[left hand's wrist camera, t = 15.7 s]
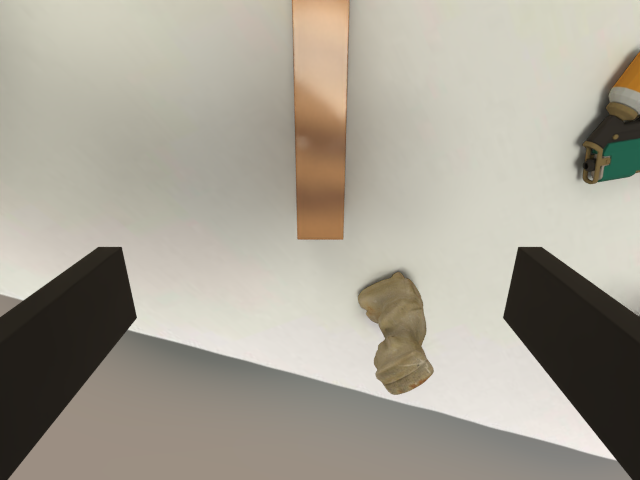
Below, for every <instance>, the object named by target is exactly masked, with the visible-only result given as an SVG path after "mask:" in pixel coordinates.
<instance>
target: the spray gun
mask: <svg viewBox="0 0 640 480" xmlns="http://www.w3.org/2000/svg"><path fill="white" fill-rule="evenodd" d="M609 100H610V103H609V104H608V105H607V107H606V109H607V111H608V112H609V114H610V115H609V116H608V117H606V118H605V119H604V120H603V122H602V123H601V124H600V125H599V126H598V127H597V128H596V130H595V131H594V132H593V133H592V134H591V135H590V136H589V138H588V139H587V141H585V142H584V143H583V146H584V147H585V148H587V149H586V156H585V162H584V164H583V168H584V170H583V180H584V181H585V182H586V183H589V184H595V183H597V182H602V181H608V180H614V179H620V178H626V177H630V176H632V175H634V174H635V173H639V172H640V117H639V118H638V119H637V120H636V121H632V122H627V123H623V121H624V120H634V119H635V118H636V117H637V115H638V114H640V52H639V53H638V54H637V56H636V57H635V58H634V60H633V61H632V62H631V64H630V65H629V66H628V68H627V69H626V70H625V72H624V73H623V74H622V76H621V77H620V78H619V80H618V81H617V82H616V84H615V85H614V86H613V88H612V89H611V91H610V93H609ZM591 148H593V150H592V153H594V155H590V154H591ZM590 171H592V172H591V176H592V178H593V181H592V180H589V179H588V172H590Z"/></svg>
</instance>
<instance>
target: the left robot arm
mask: <svg viewBox="0 0 640 480" xmlns="http://www.w3.org/2000/svg"><path fill="white" fill-rule="evenodd" d="M136 318H137V316H136V312H135V307H134V302H133V298H132V293H131V288H130V284H129V279H128V274H127V270H126V265H125V260H124V256H123V251H122V247H98V248H96V249H95V250H94V251H92V252H91V253H89V254H88V255H87V256H85V257H84V258H82V259H81V260H80V261H78V262H77V263H75V264H74V265H73V266H71V267H70V268H68V269H67V270H66V271H64V272H63V273H61V274H60V275H59V276H57V277H56V278H54V279H53V280H52V281H50V282H49V283H47V284H46V285H45V286H43V287H42V288H40V289H39V290H38V291H36V292H35V293H33V294H32V295H31V296H29V297H28V298H27V299H25V300H24V301H22V302H21V303H20V304H18V305H17V306H15V307H14V308H13V309H11V310H10V311H8V312H7V313H6V314H4V315H3V316H1V317H0V480H8V478H9V477H10V476H11V475H12V473H13V472H14V471H15V470H16V468H17V467H18V466H19V465H20V463H21V462H22V461H23V460H24V458H25V457H26V456H27V455H28V453H29V452H30V451H31V450H32V448H33V447H34V446H35V445H36V443H37V442H38V441H39V440H40V438H41V437H42V436H43V435H44V433H45V432H46V431H47V430H48V428H49V427H50V426H51V425H52V423H53V422H54V421H55V420H56V418H57V417H58V416H59V415H60V413H61V412H62V411H63V410H64V408H65V407H66V406H67V405H68V403H69V402H70V401H71V400H72V398H73V397H74V396H75V395H76V393H77V392H78V391H79V390H80V388H81V387H82V386H83V385H84V383H85V382H86V381H87V380H88V378H89V377H90V376H91V375H92V373H93V372H94V371H95V370H96V368H97V367H98V366H99V365H100V363H101V362H102V361H103V360H104V358H105V357H106V356H107V354H108V353H109V352H110V351H111V350H112V348H113V347H114V346H115V345H116V343H117V342H118V341H119V340H120V338H121V337H122V336H123V334H124V333H125V332H126V331H127V330H128V328H129V327H130V326H131V325H132V323H133V322H134V321H135V320H136ZM503 318H504V320H505V321H506V322H507V323H508V325H509V326H510V327H511V328H512V330H513V331H514V332H515V333H516V335H517V336H518V337H519V338H520V340H521V341H522V342H523V343H524V345H525V346H526V347H527V348H528V350H529V351H530V352H531V353H532V355H533V356H534V357H535V358H536V360H537V361H538V362H539V363H540V365H541V366H542V367H543V368H544V370H545V371H546V372H547V373H548V375H549V376H550V377H551V378H552V380H553V381H554V382H555V383H556V385H557V386H558V387H559V388H560V390H561V391H562V392H563V393H564V395H565V396H566V397H567V398H568V400H569V401H570V402H571V403H572V405H573V406H574V407H575V408H576V410H577V411H578V412H579V413H580V415H581V416H582V417H583V418H584V420H585V421H586V422H587V423H588V425H589V426H590V427H591V428H592V430H593V431H594V432H595V433H596V435H597V436H598V437H599V438H600V440H601V441H602V442H603V443H604V445H605V446H606V447H607V448H608V450H609V451H610V452H611V453H612V455H613V456H614V457H615V458H616V460H617V461H618V462H619V463H620V465H621V466H622V467H623V468H624V470H625V471H626V472H627V473H628V475H629V476H630V477H631V478H632V480H640V317H639V316H637V315H636V314H634V313H633V312H632V311H630V310H629V309H627V308H626V307H625V306H623V305H622V304H620V303H619V302H618V301H616V300H615V299H613V298H612V297H611V296H609V295H608V294H607V293H605V292H604V291H602V290H601V289H600V288H598V287H597V286H595V285H594V284H593V283H591V282H590V281H588V280H587V279H586V278H584V277H583V276H581V275H580V274H579V273H577V272H576V271H574V270H573V269H572V268H570V267H569V266H567V265H566V264H565V263H563V262H562V261H560V260H559V259H558V258H556V257H555V256H553V255H552V254H551V253H549V252H548V251H546V250H545V249H544V248H542V247H518V251H517V256H516V260H515V265H514V270H513V274H512V279H511V284H510V288H509V293H508V298H507V302H506V307H505V312H504V316H503Z"/></svg>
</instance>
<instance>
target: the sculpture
mask: <svg viewBox="0 0 640 480" xmlns="http://www.w3.org/2000/svg"><path fill="white" fill-rule="evenodd" d="M358 302H359V304H360V306H361V307H362V308H364V309H366V310H367V313H366V315H367V316H368V317H369V318H370V320H372V321H373V322H375V323H379V327H380V329H381V331H382V333H383V335H384V337H385V340H384V341H383V342H381V343H380V344H379V345H378V350H377V352H376V356H375V358H374V365H375V367H376V368H377V371H376V377H377V379H378V380H380V381H381V382H382V383H383V385H384V386H385V388H386V389H387V390H388V392H390V393H391V394H393V395H398V394H402V393H405V392H408V391H410V390H412V389H414V388H416V387H418V386H419V385H421V384H423V383H424V382H425V381H426V380H427V379H428V378H429V377H430V376H431V375H432V374H433V372H434V370H433V367H432V365H431V364H430V362H429V361H428V360H427V358H426V355H425V353H424V351H423V349H422V347H421V345H422V342H423V340H424V337H425V335H426V321H425V316H424V312H423V302H422V299H421V295H420V293H419V292H418V290H417V288H416V287H415V285H414V284H413V282H412V281H411V280H410V279H408V278H404V276H403V275H402V274H401V273H400V272H397V273H395V274H393V275H392V277H391V278H389V279H385V280H382V281H380V282H377V283H375V284H373V285H371V286H369V287H367V288H365V289H364V290H363V291H362V292H361V293H360V294H359V296H358Z"/></svg>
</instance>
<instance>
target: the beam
mask: <svg viewBox="0 0 640 480" xmlns="http://www.w3.org/2000/svg"><path fill="white" fill-rule="evenodd" d="M292 17H293V61H294V105H295V150H296V194H297V238H298V239H343V227H344V189H345V151H346V113H347V75H348V36H349V0H292Z"/></svg>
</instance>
